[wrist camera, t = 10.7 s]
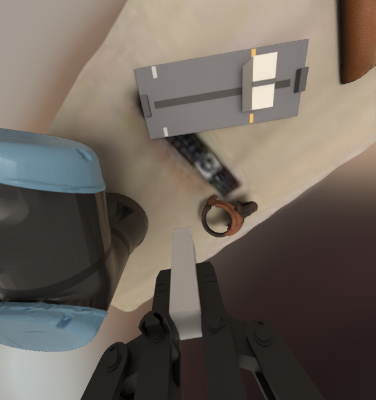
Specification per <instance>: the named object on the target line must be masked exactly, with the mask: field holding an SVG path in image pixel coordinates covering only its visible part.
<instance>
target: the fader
mask: <svg viewBox="0 0 376 400" xmlns="http://www.w3.org/2000/svg"><path fill="white" fill-rule="evenodd" d="M276 63H277V52H274V53H268V54H262V55H256V56H253V57H252V58H251V59H250V60H249V61H248V62H247V63H246V64H245V65H244V66H243V74H242V112H245V111H251V110H257V109H263V108H268V107H273V98H274V86H275V83H276V78H275V75H276Z"/></svg>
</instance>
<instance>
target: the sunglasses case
mask: <svg viewBox="0 0 376 400" xmlns="http://www.w3.org/2000/svg"><path fill="white" fill-rule="evenodd" d="M341 22H342V59H343V64H342V70H343V84H346V83H350V82H353V81H355V80H357V79H359V78H360V77H362V76H363V75H365V74H366V73H367V72H368V71H369V70H370V69H372V68H373V67H375V66H376V0H341Z"/></svg>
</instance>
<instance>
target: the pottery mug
mask: <svg viewBox="0 0 376 400" xmlns="http://www.w3.org/2000/svg"><path fill="white" fill-rule="evenodd" d="M216 198H217V196H214V197H212V198H210V199H209V201H207V202H206V204H205V206H204V208H203V211H202V224H203V227H204V229H205V230H206V231H207V232H208V233H209V234H211V235H212V236H215V237H225V236H227V235H228V236H231V235H233V234H235V233H237V232H238V231H239V230H240V228H241V227H242V225H243V223H244V218H246V217H247V216H249V215H251V214H252V213H253V212H255V211H257V208H258V205H257V203H256V202H253V201H250V202H240V201H238V202H237V203H238V204H237V207H236V210H237V211H235V210H234V208H235V207H234V206H233V205H231V204H229V203H227V202H224V201H221V200H216ZM214 205H215V207H219V208H223V209H224V210H226V211H227V212H228V213H229V214H230V216H231V219H232V224H229V225H228V228H227V230H228V231H226V232H224V233H217V232H214V231H213V230H211V229H210V228H209V227H208V225H207V223H206V214H207V212H208V211H209V210H210V209H211V206H214Z"/></svg>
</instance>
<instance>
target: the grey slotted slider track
mask: <svg viewBox="0 0 376 400" xmlns="http://www.w3.org/2000/svg"><path fill="white" fill-rule="evenodd" d="M308 41H309V39H304V40H298V41H293V42H287V43H281V44H275V45H270V46H264V47H258V48H252V49H247V50H241V51H235V52H230V53H224V54H218V55H212V56H207V57H201V58H195V59H189V60H184V61H178V62H172V63H167V64H161V65H155V66H149V67H144V68H138V69H134V73H135V77H136V81H137V86H138V90H139V94H140V99H141V104H142V108H143V112H144V116H145V119H146V124H147V128H148V132H149V136H150V139H156V138H163V137H169V136H175V135H182V134H188V133H194V132H201V131H207V130H213V129H219V128H226V127H232V126H238V125H245V124H251V123H257V122H264V121H270V120H276V119H282V118H289V117H295V116H297V115H298V108H299V102H300V95H301V92H303V91H305V87H306V81H307V74H308V68H309V67H305V61H306V55H307V48H308ZM274 52H277V63H276V75H275V78H276V83H275V86H274V98H273V107H268V108H263V109H257V110H251V111H245V112H242V74H243V66H244V65H245V64H246V63H247V62H248V61H249V60H250V59H251V58H252V57H253V56H256V55H262V54H268V53H274Z"/></svg>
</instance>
